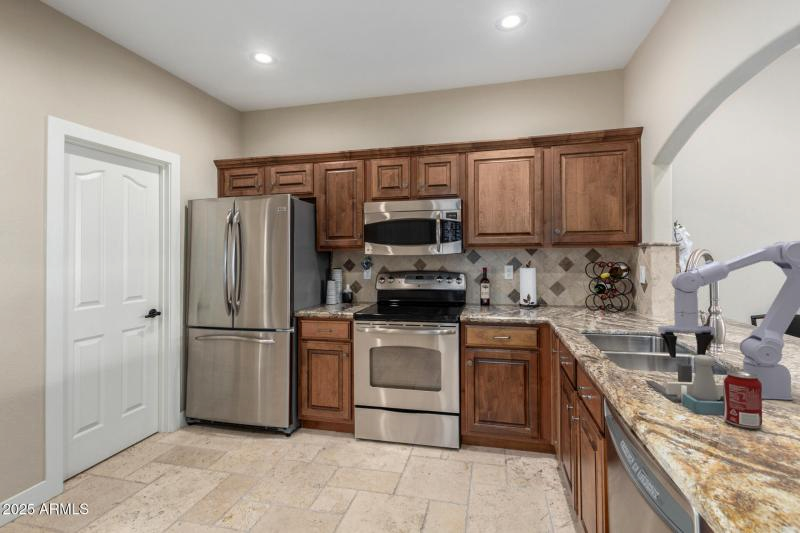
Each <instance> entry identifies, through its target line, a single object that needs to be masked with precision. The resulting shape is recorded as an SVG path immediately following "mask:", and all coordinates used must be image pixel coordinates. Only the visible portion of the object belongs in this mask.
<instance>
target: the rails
mask: <svg viewBox="0 0 800 533" xmlns="http://www.w3.org/2000/svg"><path fill="white" fill-rule="evenodd" d="M645 381H646V385H647V386H649V387H651V389H653V390H654V391H656V392H658V393H659V394H660V395H662V396H664V397H665V398H666V399H667V400H669V401H670V402H672V403H673V404H681V398H679V397H677V396H676V395H674V394H667V393H666V387H664V386H662V385H661V384H659V383H658V382H656V381H655V380H649V379H648V380H645ZM719 401H720V402H724V396H720V400H719Z"/></svg>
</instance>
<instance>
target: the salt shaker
mask: <svg viewBox="0 0 800 533" xmlns="http://www.w3.org/2000/svg"><path fill="white" fill-rule="evenodd" d="M693 362H694V364H695V365H696V366H695V367H696V368H695V372H694V378H693V381H692V382H693V387H692V392H691V395H692V397H693V398H694V399H696V400H697V401H715V402H718V400H719V399H718V392H717V388H716V384H715V383H716V380H715V376H714V371H713V366H715V359H714V357H712V356H710V355H706V354H705V355H697V354H696V355H694V357H693Z"/></svg>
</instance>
